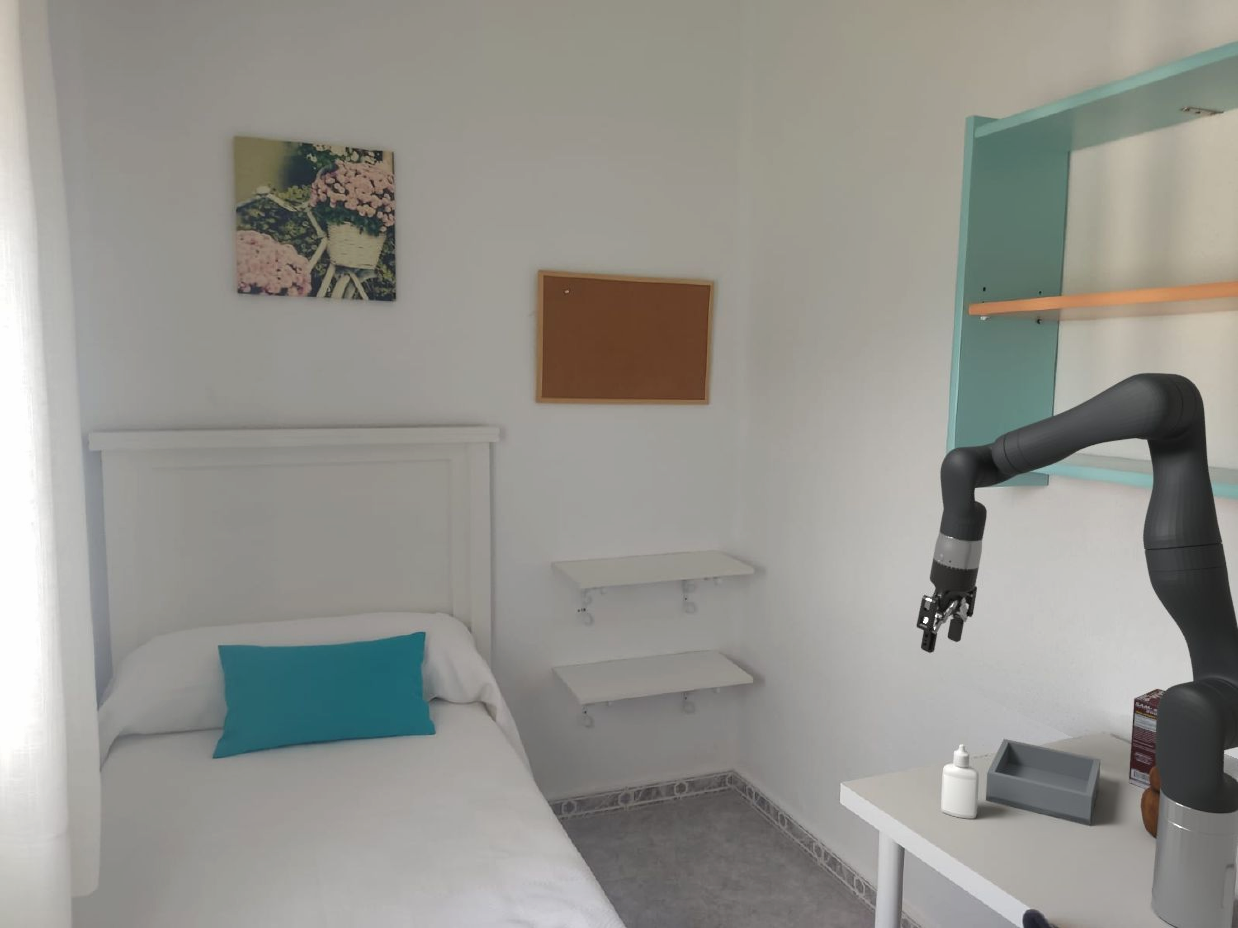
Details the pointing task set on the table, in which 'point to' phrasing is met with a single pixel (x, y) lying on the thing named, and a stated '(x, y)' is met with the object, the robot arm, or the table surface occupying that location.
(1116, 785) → the table surface
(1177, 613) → the robot arm
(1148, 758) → the supplement box
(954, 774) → the eye dropper bottle
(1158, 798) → the wooden figurine
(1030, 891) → the table surface
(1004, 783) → the box
